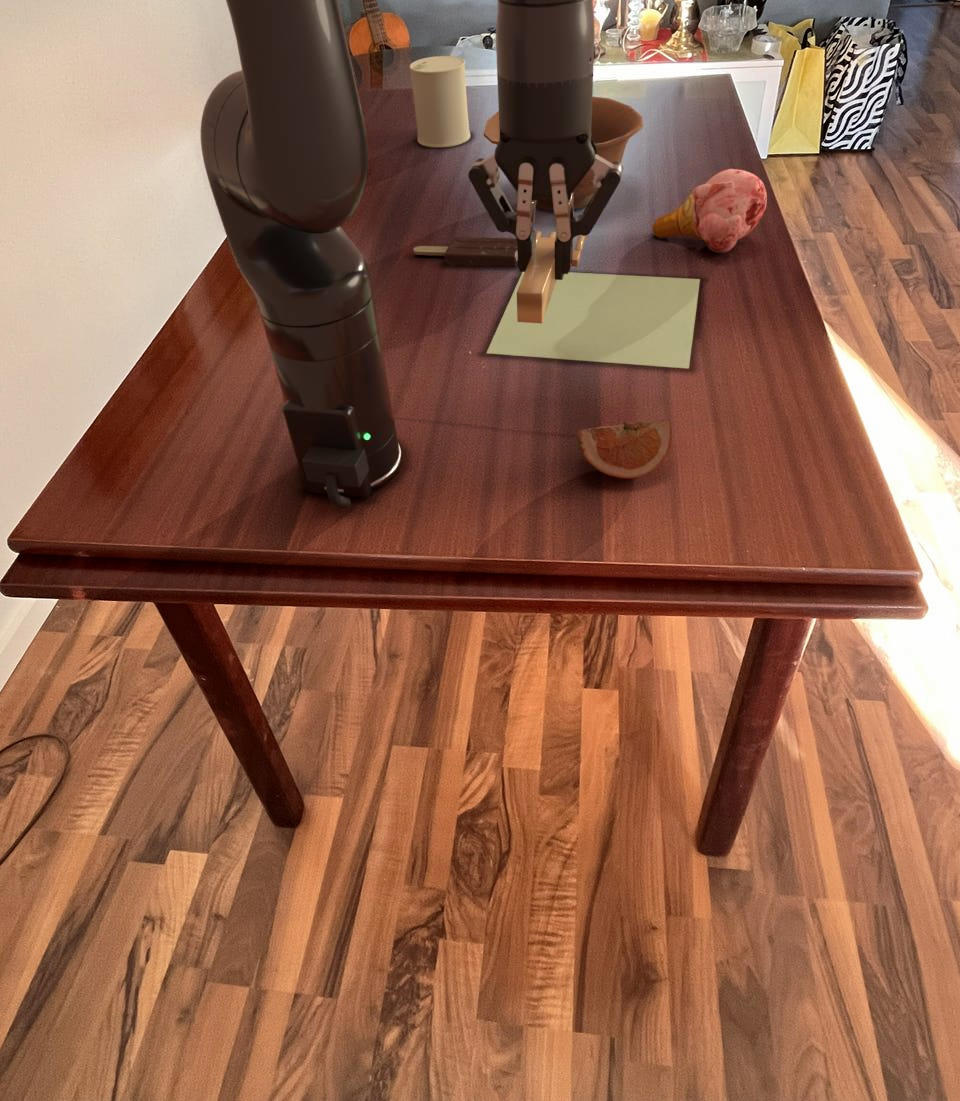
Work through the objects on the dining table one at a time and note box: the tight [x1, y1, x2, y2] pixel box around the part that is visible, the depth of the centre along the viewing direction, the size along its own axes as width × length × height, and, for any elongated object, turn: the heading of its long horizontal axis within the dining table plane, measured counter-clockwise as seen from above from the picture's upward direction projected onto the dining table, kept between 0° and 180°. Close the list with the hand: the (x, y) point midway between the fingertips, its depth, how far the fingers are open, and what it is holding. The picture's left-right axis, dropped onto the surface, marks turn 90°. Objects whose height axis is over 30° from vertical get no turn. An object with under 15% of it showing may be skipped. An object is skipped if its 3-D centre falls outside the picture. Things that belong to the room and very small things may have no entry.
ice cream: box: [652, 168, 768, 254], centre depth 103 cm, size 11×10×15 cm
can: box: [409, 55, 471, 149], centre depth 136 cm, size 9×9×12 cm
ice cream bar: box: [413, 236, 518, 268], centre depth 107 cm, size 5×2×15 cm
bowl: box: [483, 95, 644, 212], centre depth 115 cm, size 22×22×11 cm
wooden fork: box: [517, 230, 587, 323], centre depth 75 cm, size 17×5×3 cm, turn 167°
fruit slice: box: [576, 419, 673, 480], centre depth 73 cm, size 8×7×5 cm
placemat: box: [486, 271, 701, 370], centre depth 94 cm, size 20×22×1 cm
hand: (545, 274), depth 75 cm, fingers closed on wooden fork, 2 cm apart
